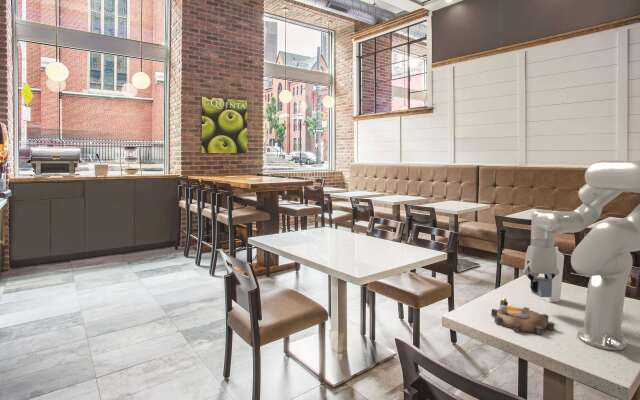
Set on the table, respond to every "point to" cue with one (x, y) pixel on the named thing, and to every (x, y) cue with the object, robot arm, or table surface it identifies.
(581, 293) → the table surface
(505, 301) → the block with gold knob
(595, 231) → the robot arm
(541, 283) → the link block
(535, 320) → the sprocket
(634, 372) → the table surface
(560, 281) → the milk
